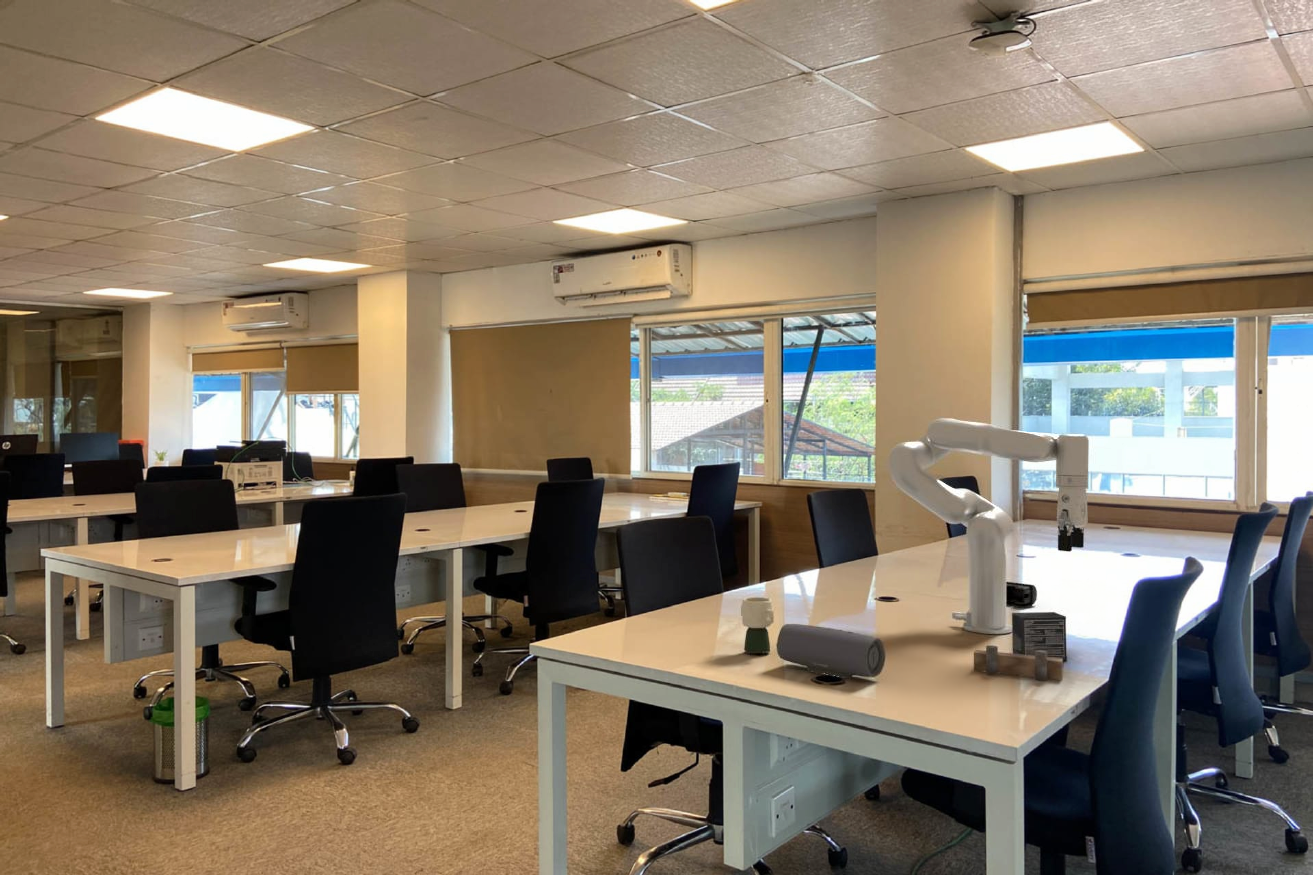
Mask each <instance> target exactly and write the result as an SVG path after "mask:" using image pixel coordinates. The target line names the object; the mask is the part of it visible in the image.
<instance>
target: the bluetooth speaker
mask: <svg viewBox="0 0 1313 875" xmlns="http://www.w3.org/2000/svg"><path fill="white" fill-rule="evenodd" d="M885 651H886V650H885V647H884V643H883V641H882V639H881V638H879V637H878V638H877V637H875V636H872V635H871V636H870V635H868V634H862V633H859V632H852V631H850V630H849V631H848V630H843V629H837V628H833V627H825V626H817V625H809V624H808V625H807V624H800V623H799V624H798V623H786V624H784V625H783V626H781V628H780V631H779V633H778V637H777V640H776V652H777V655H778V657H779V658H780V659H782V660H784V661H787V662H789V663H792V664H796V665H800V666H802V667H803V666H804V667H806V668H807V670H809V671H808V672H811V671H813V672H812V673H815V672H817V673H816V674H819V673H825V674H828V675H827V676H829V675H835V676H839V677H838V678H840V677H845V678H844V679H850V678H852V677H853V676H857V677H858V676H859V677H863V678H876V677H877V676H880V674H881V673H882V671H883V669H884V666H885V661H886V652H885ZM849 677H850V678H849Z"/></svg>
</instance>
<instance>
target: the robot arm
mask: <svg viewBox="0 0 1313 875" xmlns="http://www.w3.org/2000/svg"><path fill="white" fill-rule="evenodd" d="M1089 443H1090V442H1089V438H1088V436H1087V435H1085V434H1081V433H1079V434H1075V433H1064V434H1063V433H1062V434H1056V433H1055V434H1054V433H1049V432H1048V433H1047V432H1032V431H1031V432H1029V431H1028V432H1027V431H1020V430H1014V429H1007V428H1002V427H998V426H995V425H993V424H990V423H984V422H975V421H965V420H962V419H961V420H959V419H955V418H952V417H951V418H949V417H947V418H946V417H941V418H936V419H934V420H932V421H931V422H930V423H929V425H928V426H927V429H926V433H925V434H924V435H923V436H921V437H919V438H918V439H917V440H915V441H904V442H899V443H898V444H895V446H894V447H892V449H891V450H890V451H889V452H890V453H889V454H888V459H887V466H888V467H887V469H888V473H889V475H890V478H891V479H892V481H893V482H894V484H895V485H896V487H897V488H898V489H899V490H901V492H903V493H904V494H906V495H907V496H908V497H909V498H911V499H913V500H914V501H916V502H917V503H918V504H920V505H921V506H923V507H924V508H925V509H927V510H928V511H930V512H932V513H933V514H935V515H936V516H937V517H938V518H940V519H941V520H943V521H944V522H945V523H948V524H951V525H958V524H962V525H963V526H964V527H966V534H965V535H966V543H967V545H966V547H967V554H968V555H967V557H968V610H967V611H964V612H960V611H952V612H951V615H952V616H951V618H952V619H953V620H956V621H964V622H963V623H962V628H963V629H964V630H966V631H969V632H972V633H978V634H984V635H985V634H986V635H987V634H988V635H1004V634H1009V633H1012V625H1011V624H1009V623H1007V606H1006V582H1007V557H1006V546H1005V543H1006V542H1008V541H1009V540H1010V539H1011V538H1012V537H1013V535H1014V530H1015V525H1014V521H1013V519H1012V518H1011V516H1010V515H1009V514H1008V513H1007V512H1005V510H1002V509H1001V508H1000V507H999V506H997V505H995V504H993V503H991V502H990V501H989V500H987V499H986V498H984V497H982V496H981V495H979V494H977V493H976V492H974V491H972V490H970V489H968V488H953V487H952V486H950V485H948V484H946V483H945V482H943V481H942V480H940V479H939V478H938V477H936V476H934V475H932V474H930V473H928V472H926V469H928V468H930V467H932V466H933V465H934V464H936V463H937V462H939V461H941V460H942V459H943V458H945V457H946V456H948V455H949V454H951V453H952V452H963V453H966V454H967V453H969V454H973V455H974V454H975V455H981V456H987V457H997V458H1002V459H1008V460H1016V461H1020V462H1021V461H1023V462H1030V463H1043V462H1050V461H1051V462H1052V461H1055V488H1056V489H1058V496H1057V506H1056V508H1057V510H1056V511H1057V512H1056V521H1057V529H1058V530H1057V550H1058V551H1060V552H1069V553H1070V552H1072V549H1073V548H1080V549H1083V548H1084V545H1085V543H1084V542H1085V540H1084V539H1085V538H1084V537H1085V533H1084V532H1085V526H1087V525H1088V522H1089V520H1088V519H1089V518H1088V515H1089V514H1088V495H1087V489H1089V451H1090V450H1089V449H1090V448H1089Z"/></svg>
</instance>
